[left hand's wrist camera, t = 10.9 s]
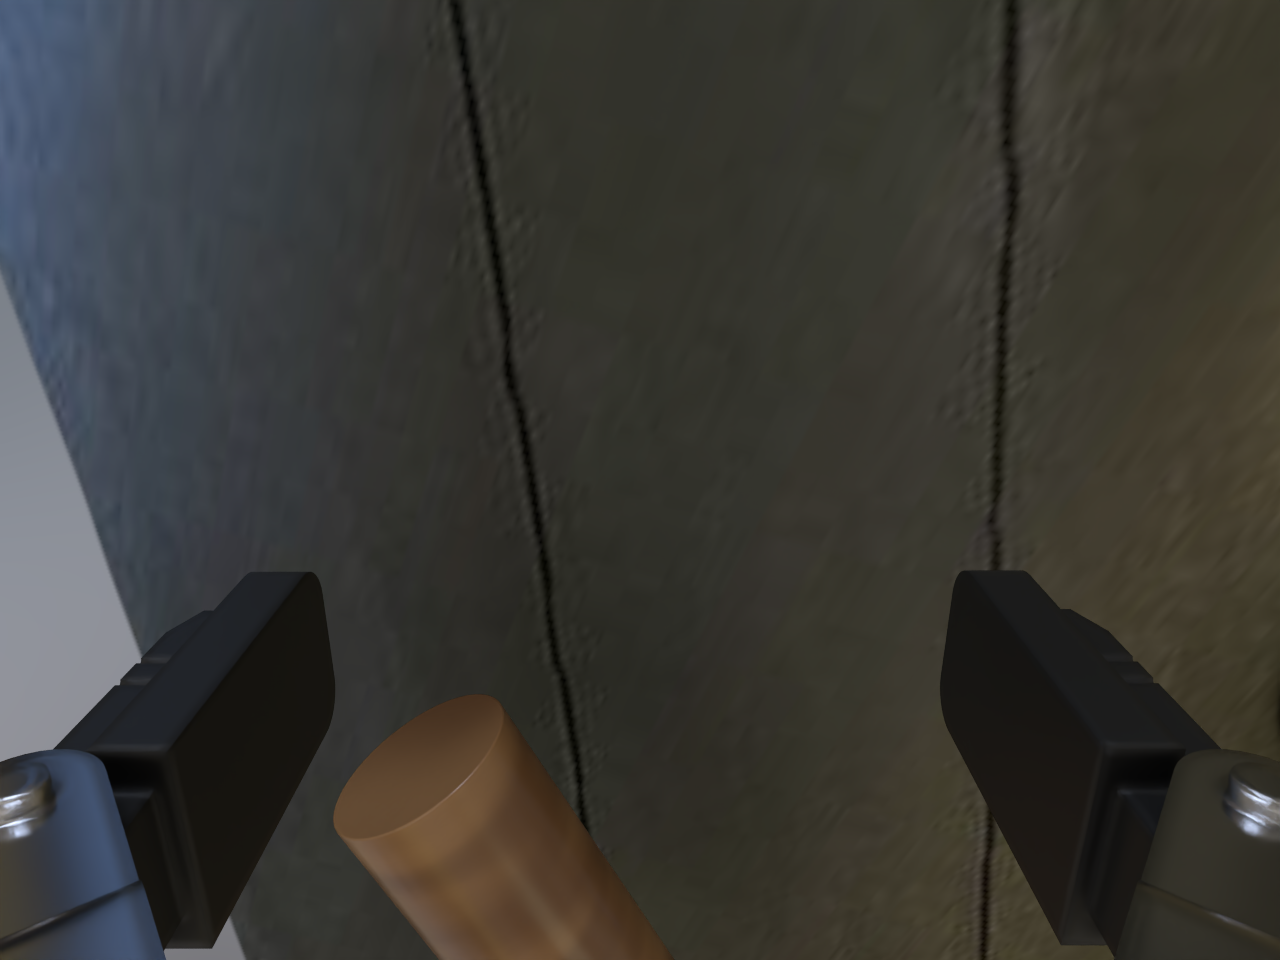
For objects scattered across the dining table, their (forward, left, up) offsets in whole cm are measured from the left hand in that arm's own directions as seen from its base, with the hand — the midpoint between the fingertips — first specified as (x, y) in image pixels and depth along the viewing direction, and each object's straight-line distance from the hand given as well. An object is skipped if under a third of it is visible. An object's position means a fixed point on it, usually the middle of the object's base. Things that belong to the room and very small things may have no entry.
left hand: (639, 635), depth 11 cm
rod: (+13, +20, -16) cm, 28 cm away
